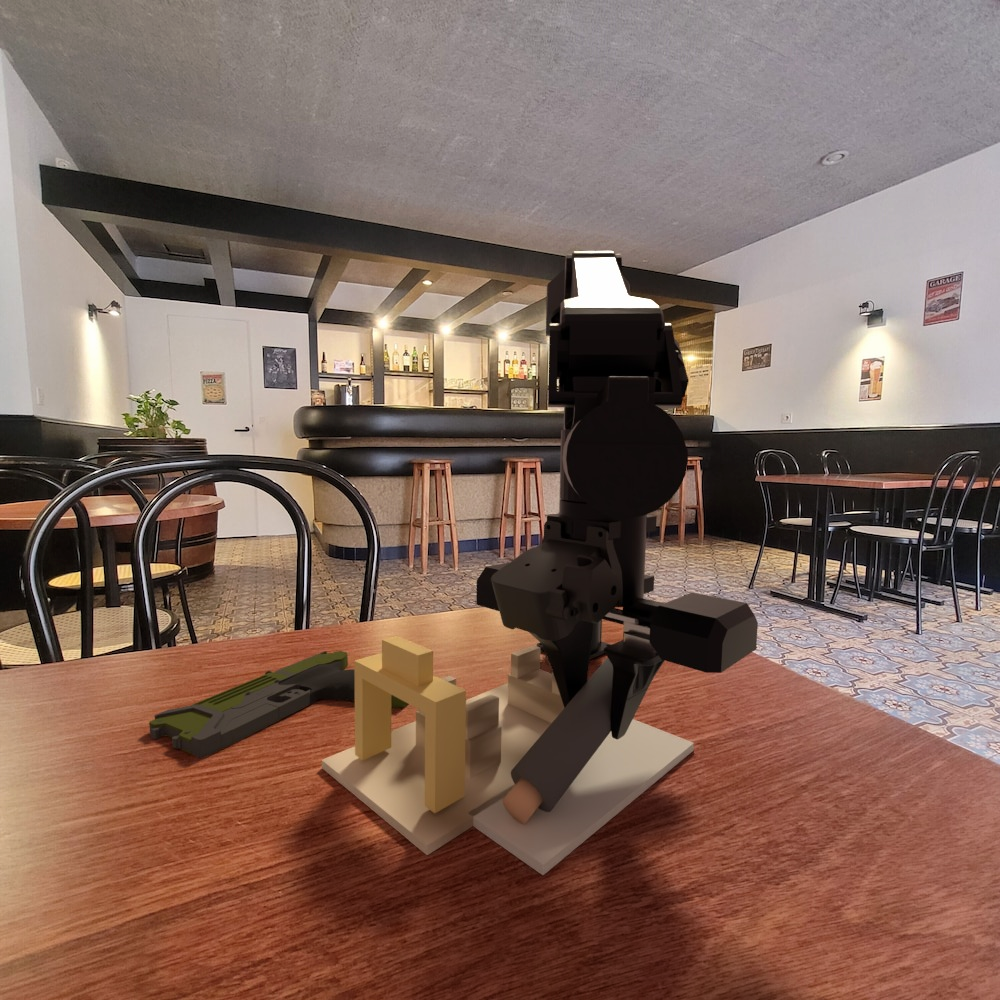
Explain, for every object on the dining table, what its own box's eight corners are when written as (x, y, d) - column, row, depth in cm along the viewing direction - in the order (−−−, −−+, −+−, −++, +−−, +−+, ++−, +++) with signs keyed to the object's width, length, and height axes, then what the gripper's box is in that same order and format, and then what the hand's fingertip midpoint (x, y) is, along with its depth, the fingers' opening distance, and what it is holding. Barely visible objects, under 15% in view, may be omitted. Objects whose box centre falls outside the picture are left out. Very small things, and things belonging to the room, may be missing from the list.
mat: (625, 722, 47) (625, 716, 47) (693, 750, 42) (693, 742, 42) (467, 822, 34) (467, 812, 34) (542, 875, 30) (543, 864, 30)
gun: (265, 802, 36) (140, 745, 44) (436, 692, 53) (324, 664, 60) (263, 765, 36) (138, 714, 44) (435, 667, 53) (323, 641, 60)
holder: (527, 680, 55) (528, 629, 54) (633, 723, 47) (636, 663, 46) (321, 767, 39) (321, 697, 39) (427, 855, 31) (427, 766, 30)
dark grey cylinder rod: (655, 628, 46) (646, 597, 44) (691, 638, 43) (683, 604, 42) (503, 817, 34) (487, 781, 33) (541, 843, 32) (525, 805, 31)
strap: (383, 742, 41) (383, 625, 40) (464, 796, 35) (466, 658, 34) (354, 754, 39) (354, 632, 39) (434, 813, 33) (436, 669, 32)
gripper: (418, 496, 37) (417, 719, 39) (678, 525, 24) (664, 859, 26) (527, 490, 45) (524, 675, 47) (767, 509, 32) (752, 764, 34)
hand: (595, 727), depth 38 cm, fingers closed on dark grey cylinder rod, 3 cm apart
